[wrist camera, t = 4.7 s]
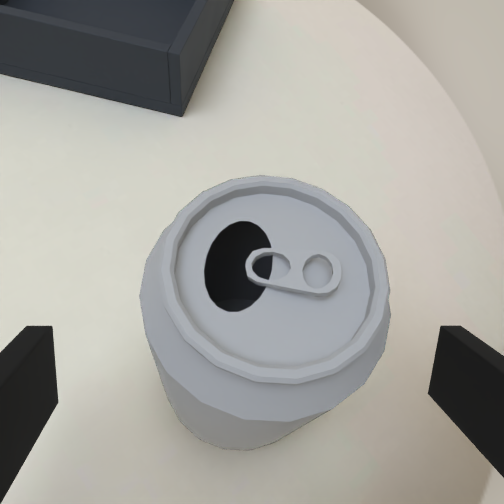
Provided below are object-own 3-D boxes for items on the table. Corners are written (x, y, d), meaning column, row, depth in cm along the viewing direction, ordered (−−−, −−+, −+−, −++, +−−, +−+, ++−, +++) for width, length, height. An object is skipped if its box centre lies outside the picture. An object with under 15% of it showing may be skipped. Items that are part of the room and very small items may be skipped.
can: (187, 291, 23) (179, 130, 12) (316, 320, 23) (414, 184, 12) (144, 433, 19) (80, 369, 9) (300, 468, 19) (422, 446, 9)
